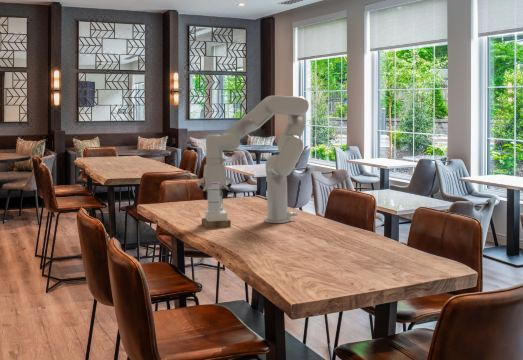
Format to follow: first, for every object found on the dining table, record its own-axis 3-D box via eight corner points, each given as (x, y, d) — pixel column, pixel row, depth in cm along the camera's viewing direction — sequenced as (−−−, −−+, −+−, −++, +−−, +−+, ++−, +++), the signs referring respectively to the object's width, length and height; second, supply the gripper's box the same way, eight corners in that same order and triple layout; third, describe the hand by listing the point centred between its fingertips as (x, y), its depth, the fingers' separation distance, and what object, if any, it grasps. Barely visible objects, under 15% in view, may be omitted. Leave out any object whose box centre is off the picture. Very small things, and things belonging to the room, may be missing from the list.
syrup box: (220, 213, 287) (219, 181, 286) (207, 212, 288) (206, 181, 287) (223, 211, 293) (222, 180, 291) (210, 210, 294) (210, 180, 292)
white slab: (224, 217, 296) (224, 209, 296) (227, 220, 288) (227, 212, 287) (205, 218, 295) (205, 210, 294) (207, 221, 286) (207, 213, 285)
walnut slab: (224, 223, 298) (224, 216, 298) (230, 228, 288) (230, 220, 287) (201, 225, 295) (201, 218, 294) (207, 229, 284) (207, 222, 284)
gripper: (230, 160, 294) (231, 196, 296) (194, 161, 289) (195, 198, 291) (235, 161, 287) (235, 198, 289) (197, 163, 282) (198, 201, 284)
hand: (215, 198), depth 290 cm, fingers open, 9 cm apart
